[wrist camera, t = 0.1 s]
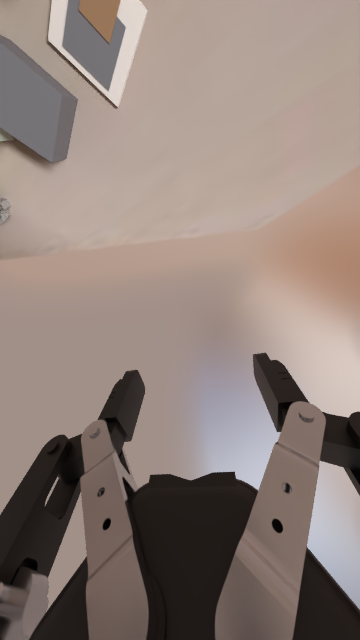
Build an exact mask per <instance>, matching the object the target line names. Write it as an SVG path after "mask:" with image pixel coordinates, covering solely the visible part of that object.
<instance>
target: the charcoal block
mask: <svg viewBox="0 0 360 640" xmlns="http://www.w3.org/2000/svg"><path fill="white" fill-rule="evenodd" d="M77 101H78V99H77V98H76V97H75V96H73V95H72V94H71V93H70V92H69V91H68V90H67V89H65V88H64V87H63V86H62V85H61V84H60V83H59V82H58V81H56V80H55V79H54V78H53V77H52V76H51V75H50V74H48V73H47V72H46V71H45V70H44V69H43V68H42V67H41V66H39V65H38V64H37V63H36V62H35V61H34V60H33V59H31V58H30V57H29V56H28V55H27V54H26V53H25V52H23V51H22V50H21V49H20V48H19V47H18V46H17V45H16V44H14V43H13V42H12V41H11V40H9V39H7V38H5V37H3V36H1V35H0V128H2V129H3V130H4V131H6V132H7V133H9V134H10V135H12V136H13V137H15V138H16V139H18V140H19V141H21V142H22V143H23V144H25V145H26V146H28V147H29V148H31V149H32V150H34V151H35V152H37V153H38V154H39V155H41V156H42V157H44V158H45V159H47V160H48V161H50V162H51V163H54V162H57V161H60V160H63V159H66V158H67V153H68V148H69V143H70V137H71V132H72V127H73V122H74V116H75V111H76V106H77Z"/></svg>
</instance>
